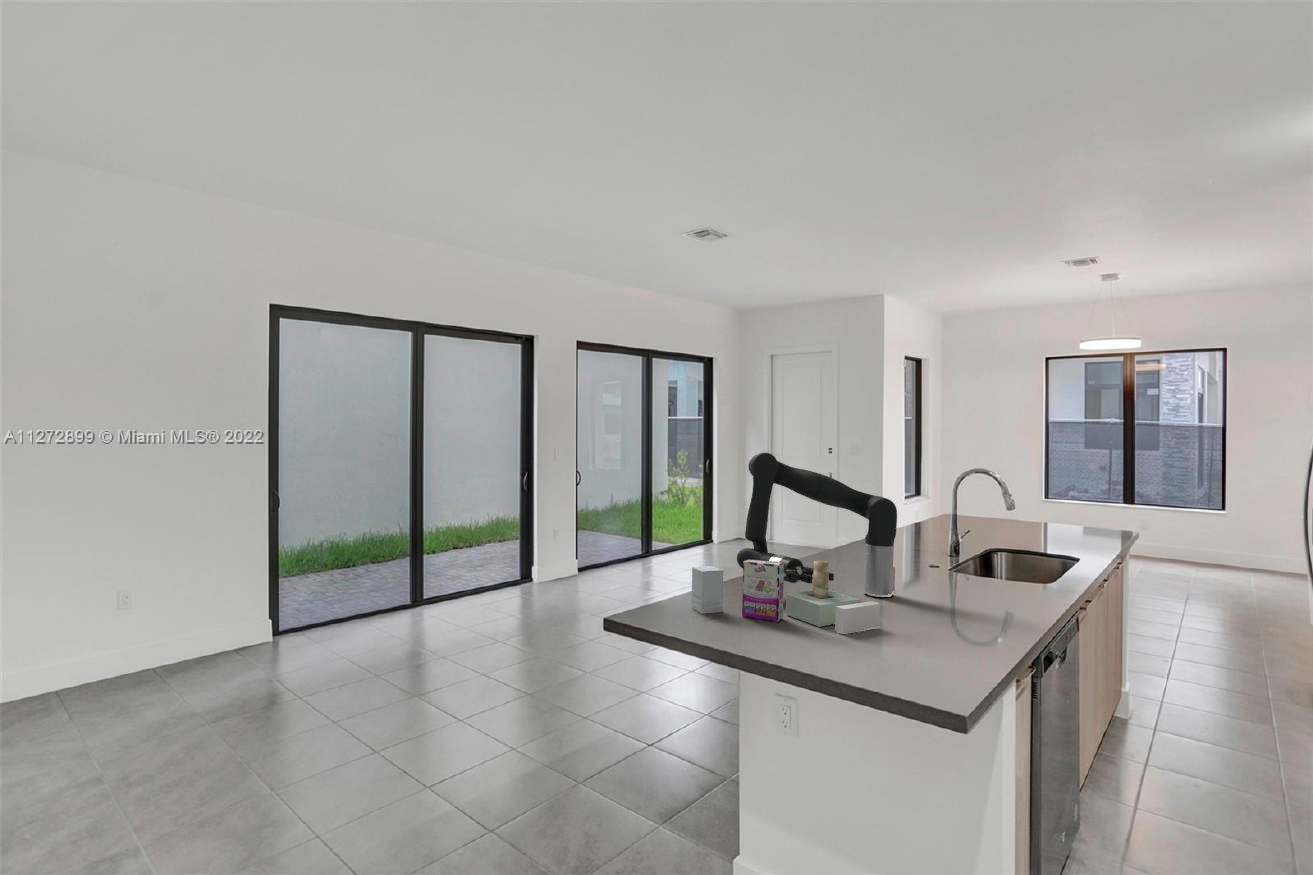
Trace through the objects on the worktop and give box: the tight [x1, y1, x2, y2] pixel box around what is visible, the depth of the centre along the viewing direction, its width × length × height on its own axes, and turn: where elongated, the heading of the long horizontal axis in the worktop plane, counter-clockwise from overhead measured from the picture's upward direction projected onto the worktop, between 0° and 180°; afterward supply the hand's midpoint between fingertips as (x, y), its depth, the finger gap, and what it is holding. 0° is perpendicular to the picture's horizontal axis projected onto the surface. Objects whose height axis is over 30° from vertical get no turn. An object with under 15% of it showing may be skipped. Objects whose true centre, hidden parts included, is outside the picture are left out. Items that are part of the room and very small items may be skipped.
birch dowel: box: [812, 560, 830, 599], centre depth 198 cm, size 4×4×14 cm
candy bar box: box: [741, 559, 785, 623], centre depth 196 cm, size 11×5×16 cm, turn 62°
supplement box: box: [690, 565, 724, 614], centre depth 203 cm, size 7×7×13 cm
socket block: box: [785, 589, 862, 628], centre depth 197 cm, size 16×14×6 cm
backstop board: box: [834, 600, 881, 634], centre depth 186 cm, size 14×3×7 cm, turn 120°
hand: (822, 578), depth 198 cm, fingers open, 8 cm apart
